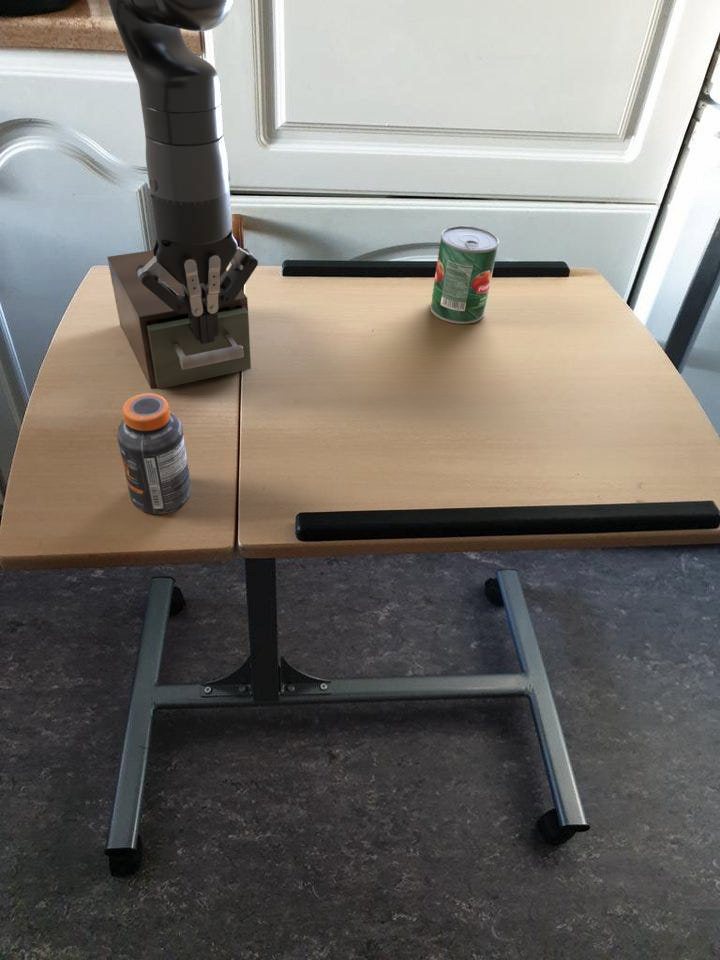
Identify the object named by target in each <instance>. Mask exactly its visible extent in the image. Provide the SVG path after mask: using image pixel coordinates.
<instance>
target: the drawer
mask: <svg viewBox="0 0 720 960" xmlns="http://www.w3.org/2000/svg"><path fill="white" fill-rule="evenodd" d="M217 314H218V326H219V333H218V336H216V337H214V340H215V341H214V342H211V343H206V344H201V343H200V341H199V340H196V339H195V337H194V335H193V334H192V332H191V331H190V322H189V314H187V315H182V316H176V317H171V318H165V319H160V320H154V321H149V322H147V331H148V337H149V343H150V349H151V356H152V362H153V368H154V374H155V380H156V384H157V387H156V388H158V390H160V389H165V388H170V387H175V386H178V385H182V384H183V385H184V384H188V383H192V382H197V381H201V380H202V381H203V380H207V379H210V378H215V377H219V376H224V375H228V374H233V373H239V372H243V371H248V370H251V369H252V363H251V362H252V361H251V362H250V359H251V341H250V342H249V339H250V321H249V322H248V318H249V311H248V312H247V310H246V309H245V308H240V309H235V306H231V307H226V308H220V309H218V312H217Z"/></svg>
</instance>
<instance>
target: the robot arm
mask: <svg viewBox="0 0 720 960" xmlns="http://www.w3.org/2000/svg"><path fill="white" fill-rule="evenodd" d="M107 2H108V6H109V9H110V11H111V14H112V17H113V21H114V22H115V25H116V28H117V31H118V34H119V37H120V39H121V42H122V45H123V48H124V50H125V53H126V56H127V59H128V61H129V63H130V66H131V69H132V71H133V73H134V76H135V78H136V81H137V84H138V90H139V98H140V107H141V113H142V120H143V127H144V128H143V129H144V137H145V164H146V172H147V180H148V186H149V193H150V194H149V195H150V200H151V201H150V202H151V207H152V208H151V209H152V215H153V221H154V228H155V237H156V238H155V239H156V240H155V243H154V245H153V248H152V250H153V253H154V257H153V258H152V259H151V260H150V261H149V262H148V263H147V264H146V265H139V266H137V268H136V273H137V275H138V277H139V279H140V280H141V282H142V284H143V285H144V286H145V287H147V288H148V289H149V290H150V291H151V292H152V293H154V294H155V295H156V296H157V297H158V298H160V299H161V300H162V301H163V302H164V303H165V304H167V305H168V306H169V307H170V308H171V309H173V310H174V311H175V312H176V313H177V314H183V313H189V322H190V331H191V332H192V334H193V335H194V337H195V339H196V340H199V341H200V343H201V344H206V343H211V342H214V341H215V340H214V337H216V336H218V333H219V326H218V314H217V312H218V309H219V308H220V307H221V306H223V305H231V304H232V303H233V301H234V300H235V298H236V297H237V295H238V294H239V292H240V291H241V290H243V288H244V287H245V285H246V283H247V282H248V281H249V279H250V277H251V276H252V274H253V273H254V271H255V270H256V268H257V267H258V265H259V263H258V262H259V260H258V259H257V258H256V256H254V254H253V253H252V252H251V251H250V250H249V249H248V248H241V247H240V246H238V245H239V244H238V241H237V240H236V238H235V237H234V235H233V222H232V207H231V204H232V203H231V189H230V187H231V186H230V181H231V172H230V170H229V160H228V158H229V157H228V153H227V148H226V144H225V143H226V142H225V136H224V135H225V134H224V122H223V121H224V120H223V106H222V105H223V104H222V94H221V85H220V77H219V75H218V71H217V70H216V68H215V67H214V66H213V65H212V64H211V63H210V62H209V61H207V60H205V59H204V58H202V57H201V56H199V55H197V54H196V53H194V52H193V51H192V49H190V48H189V46H188V45H187V43H186V41H185V38H184V36H183V32H182V30H185V31H190V32H206V31H207V32H208V31H210V30H213V29H215V28H217V27H218V26H219V25H220V24H222V23H223V22H224V21H225V19H226V18H227V17H228V16H229V14H230V13H231V10H232V7H233V4H234V0H107ZM230 264H231V265H230ZM229 265H230V266H229ZM162 267H163V268H164V269H165V270H166V271H167V272H168V273H170V274H171V275H172V276H173V277H174V278H175V279H176V280H177V281H178V282H179V283H181V285H182V288H183V292H184V296H179V295H178V294H177V293H176V292H175V291H173V290H172V289H171V288H170V287H169V286H168V285H167V284H166V283H164V282H163V280H164V275H163V274H162V272H161V268H162ZM228 267H229V268H228ZM227 269H228V270H227ZM225 270H227V273H226V274H225V276H224V277H223V279H222V280H221V282H220V277H221V276H222V275H223V274H224V272H225ZM199 284H200V285H199ZM201 301H202V302H201Z"/></svg>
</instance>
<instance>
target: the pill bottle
mask: <svg viewBox="0 0 720 960" xmlns="http://www.w3.org/2000/svg"><path fill="white" fill-rule="evenodd" d="M122 414H123V419H122V421H121V422H120V423H119V425H118V426H117V430H116V439H117V443H118V449H119V453H120V457H121V461H122V466H123V471H124V474H125V479H126V483H127V488H128V493H129V497H130V501H131V503H132V504H133V506H134V507H135V508H136V509H138V510H140V511H142V512H144V513H147V514H152V515H163V514H168V513H173V512H174V511H176V510H178V509H180V508H182V507H183V506H184V505H185V504H186V503H187V502H188V500H189V499H190V497H191V493H192V486H191V478H190V470H189V469H190V468H189V463H188V455H187V450H186V444H185V437H184V429H183V425H182V423H181V420H180V419H179V418H178V417H177V416H176V415H175V414H173V413H171V410H170V407H169V403H168V401H167V400H166V398H164V396H162V395H160V394H156V393H141V394H137V395H134V396H132V397H130V398H129V399H127V400H126V401H125V402H124V404H123V407H122Z"/></svg>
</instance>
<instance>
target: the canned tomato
mask: <svg viewBox="0 0 720 960" xmlns="http://www.w3.org/2000/svg"><path fill="white" fill-rule="evenodd" d="M499 245H500V240H499V238H498V236H497V235H496V234H495V233H494V232H492V231H489V230H487V229H485V228H482V227H478V226H472V225H455V226H450V227H447V228H445V229H443V231H442V232H441V233H440V243H439V246H438V247H439V248H438V254H437V262H436V268H435V274H434V283H433V288H432V294H431V302H430V307H429V308H430V311H431V313H432V314H433V315H434V316H435V317H437V318H438V319H440V320H442V321H444V322H446V323H447V322H448V323H451V324H456V325H457V324H458V325H468V324H473V323H477V322H478V321H480V320H482V319H483V318H484V316H485V309H486V306H487V301H488V298H489V297H488V295H489V293H490V287H491V283H492V277H493V273H494V268H495V263H496V258H497V253H498V247H499Z"/></svg>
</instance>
